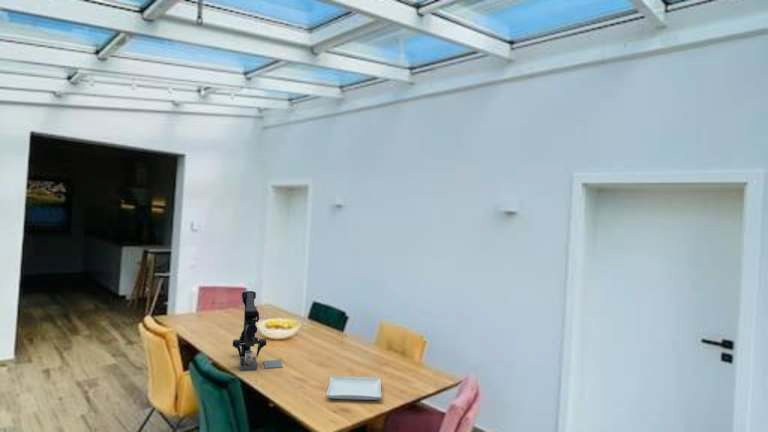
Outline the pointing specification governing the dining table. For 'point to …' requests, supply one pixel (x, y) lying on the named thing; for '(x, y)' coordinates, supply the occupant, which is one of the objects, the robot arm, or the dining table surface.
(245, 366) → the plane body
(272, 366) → the rest mat
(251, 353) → the lever cap
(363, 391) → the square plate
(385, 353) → the dining table surface
